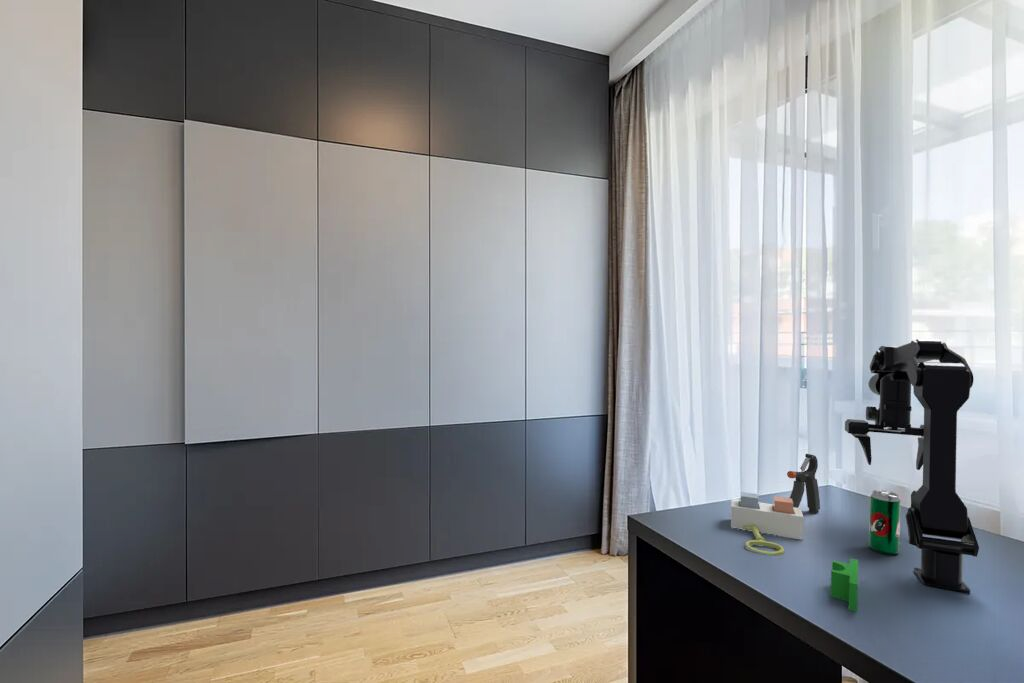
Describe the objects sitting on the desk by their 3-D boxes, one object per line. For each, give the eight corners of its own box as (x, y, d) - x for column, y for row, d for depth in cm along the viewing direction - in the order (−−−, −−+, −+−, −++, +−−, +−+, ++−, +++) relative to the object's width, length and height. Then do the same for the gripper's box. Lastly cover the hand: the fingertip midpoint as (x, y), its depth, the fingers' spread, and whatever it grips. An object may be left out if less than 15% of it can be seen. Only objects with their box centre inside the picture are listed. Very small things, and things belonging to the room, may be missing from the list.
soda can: (903, 557, 101) (905, 498, 101) (873, 553, 103) (875, 495, 103) (893, 547, 106) (895, 491, 106) (865, 543, 108) (866, 488, 108)
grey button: (757, 518, 114) (758, 498, 114) (740, 515, 116) (740, 496, 116) (757, 513, 118) (757, 494, 117) (740, 511, 119) (740, 491, 119)
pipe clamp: (832, 579, 92) (833, 554, 92) (857, 585, 90) (858, 559, 90) (829, 604, 83) (830, 577, 83) (856, 612, 81) (857, 583, 81)
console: (802, 539, 109) (803, 517, 109) (730, 528, 115) (731, 506, 115) (799, 529, 115) (800, 508, 115) (731, 519, 121) (731, 498, 121)
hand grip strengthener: (781, 517, 123) (782, 456, 123) (811, 510, 129) (813, 451, 129) (790, 520, 121) (791, 458, 121) (820, 513, 127) (822, 453, 127)
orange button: (792, 523, 111) (793, 503, 111) (774, 521, 113) (775, 500, 113) (791, 518, 115) (791, 498, 115) (773, 516, 116) (774, 496, 116)
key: (754, 533, 114) (754, 523, 114) (789, 557, 102) (789, 547, 101) (723, 533, 113) (724, 524, 113) (755, 558, 101) (755, 547, 101)
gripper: (934, 399, 120) (932, 464, 120) (841, 394, 128) (839, 455, 128) (951, 404, 110) (949, 475, 110) (849, 398, 118) (848, 464, 118)
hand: (893, 467), depth 117 cm, fingers open, 9 cm apart
